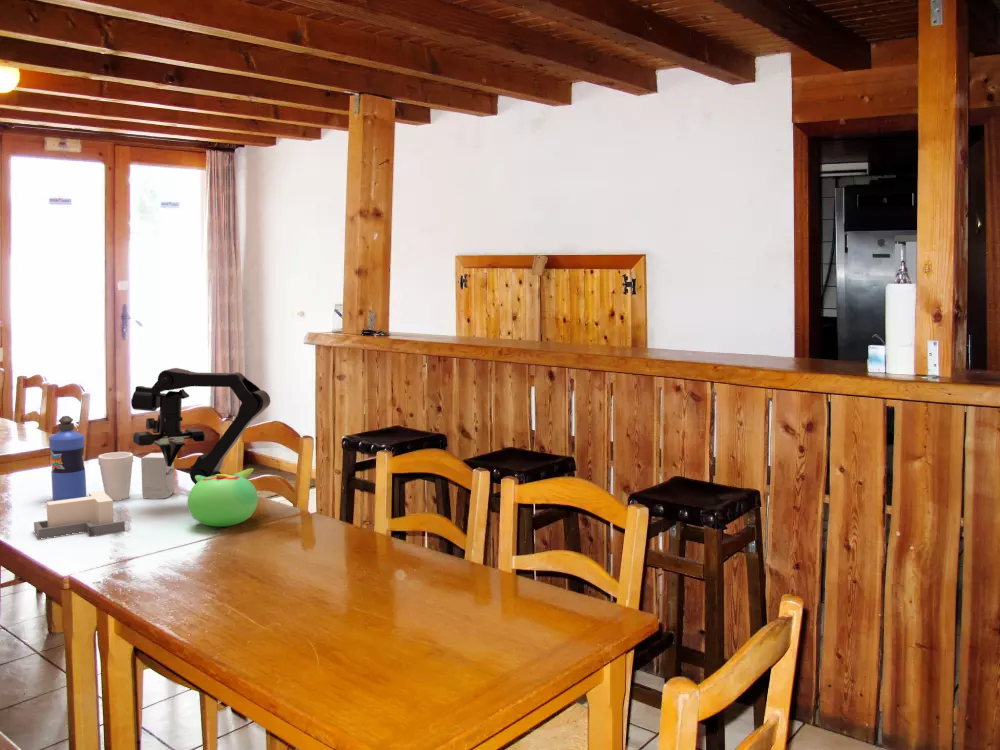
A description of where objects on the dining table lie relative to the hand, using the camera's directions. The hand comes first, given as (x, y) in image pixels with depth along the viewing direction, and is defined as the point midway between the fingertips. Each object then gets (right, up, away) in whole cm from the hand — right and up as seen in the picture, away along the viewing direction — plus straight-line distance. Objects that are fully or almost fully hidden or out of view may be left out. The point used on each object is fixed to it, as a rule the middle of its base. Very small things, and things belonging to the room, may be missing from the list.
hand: (168, 466), depth 251 cm
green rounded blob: (+20, -15, -14) cm, 29 cm away
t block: (-16, -15, -19) cm, 29 cm away
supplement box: (-9, -11, +15) cm, 20 cm away
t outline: (-17, -15, -20) cm, 30 cm away
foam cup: (-20, -11, +12) cm, 26 cm away
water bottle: (-33, -11, +10) cm, 36 cm away
